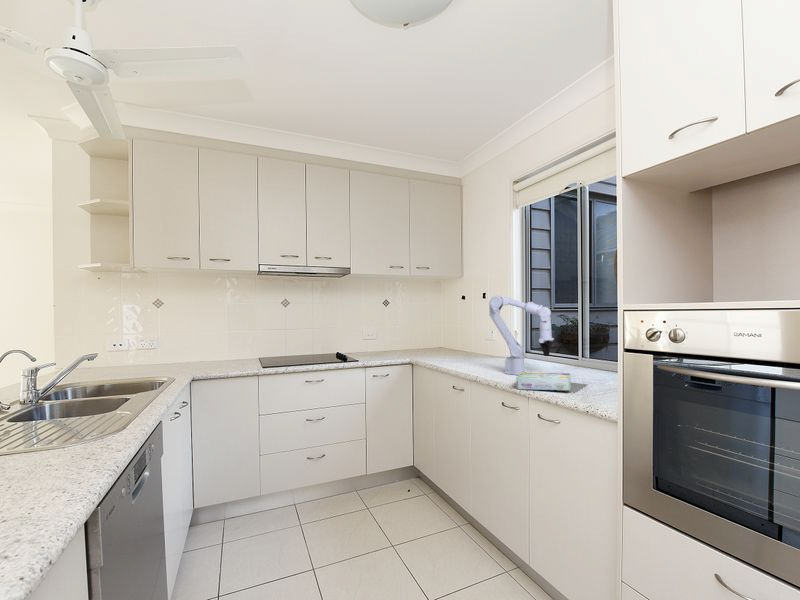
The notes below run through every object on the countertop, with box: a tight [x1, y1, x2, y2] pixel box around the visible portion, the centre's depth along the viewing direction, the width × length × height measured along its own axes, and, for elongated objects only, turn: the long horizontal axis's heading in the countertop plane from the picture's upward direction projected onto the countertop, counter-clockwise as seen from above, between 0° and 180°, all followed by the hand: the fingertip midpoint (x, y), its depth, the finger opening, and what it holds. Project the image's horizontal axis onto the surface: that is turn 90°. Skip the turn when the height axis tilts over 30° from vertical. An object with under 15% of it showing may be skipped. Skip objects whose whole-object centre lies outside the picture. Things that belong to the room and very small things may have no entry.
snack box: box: [516, 372, 572, 391], centre depth 163 cm, size 21×6×15 cm
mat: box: [556, 382, 588, 394], centre depth 164 cm, size 12×20×1 cm, turn 139°
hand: (546, 355), depth 193 cm, fingers closed
